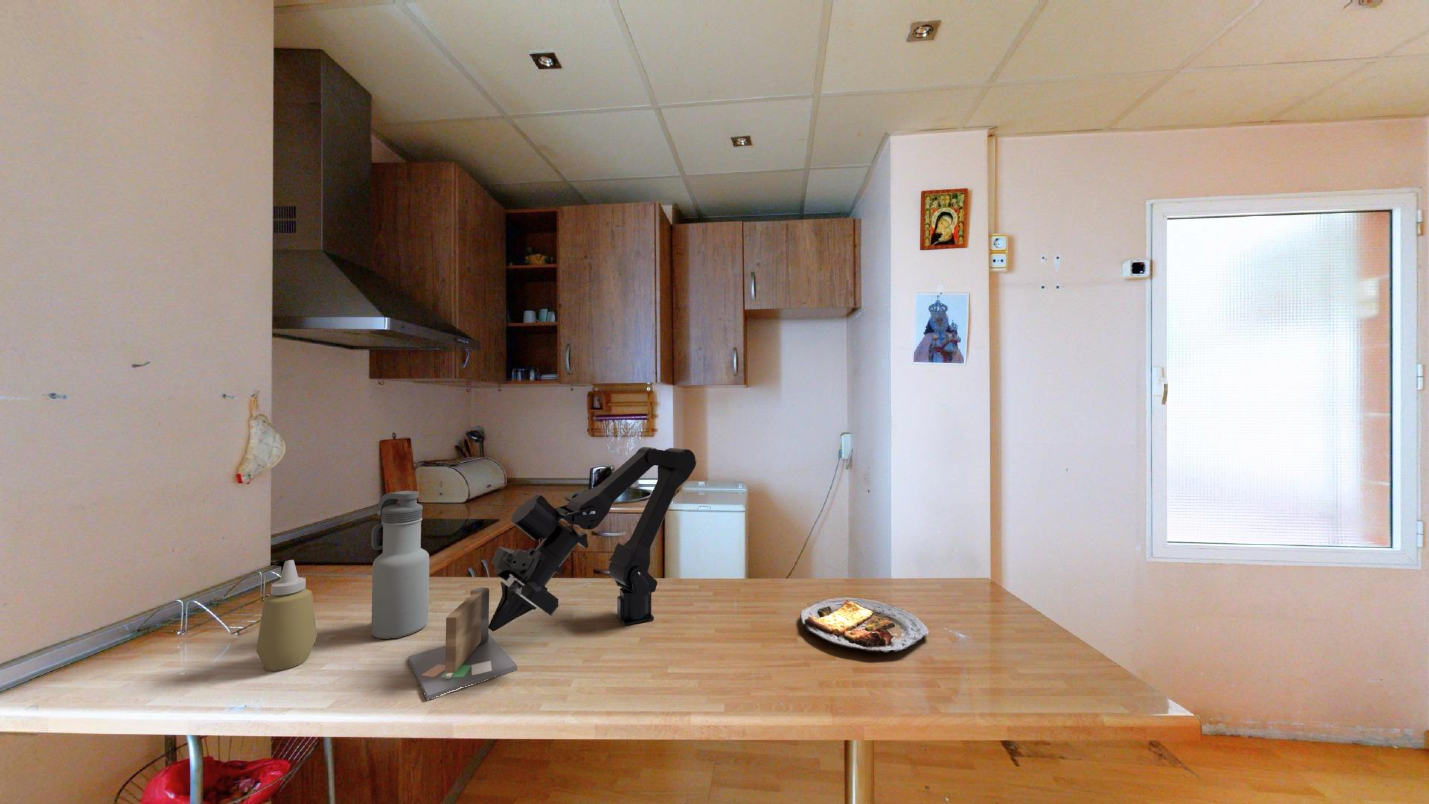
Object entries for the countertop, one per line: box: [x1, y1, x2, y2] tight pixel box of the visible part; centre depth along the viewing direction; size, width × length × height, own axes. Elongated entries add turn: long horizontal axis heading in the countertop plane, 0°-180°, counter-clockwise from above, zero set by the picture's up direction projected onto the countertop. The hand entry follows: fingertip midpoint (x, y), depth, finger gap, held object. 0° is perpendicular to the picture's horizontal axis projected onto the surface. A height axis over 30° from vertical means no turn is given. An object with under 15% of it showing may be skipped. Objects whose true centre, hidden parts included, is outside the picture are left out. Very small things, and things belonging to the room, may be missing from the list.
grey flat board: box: [407, 633, 518, 700], centre depth 84 cm, size 16×14×1 cm
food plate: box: [799, 597, 929, 655], centre depth 99 cm, size 25×23×4 cm
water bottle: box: [370, 490, 430, 640], centre depth 98 cm, size 10×10×28 cm
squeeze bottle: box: [255, 559, 318, 672], centre depth 85 cm, size 8×8×18 cm
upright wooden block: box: [445, 587, 490, 679], centre depth 85 cm, size 15×3×9 cm, turn 5°
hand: (490, 629), depth 85 cm, fingers closed
